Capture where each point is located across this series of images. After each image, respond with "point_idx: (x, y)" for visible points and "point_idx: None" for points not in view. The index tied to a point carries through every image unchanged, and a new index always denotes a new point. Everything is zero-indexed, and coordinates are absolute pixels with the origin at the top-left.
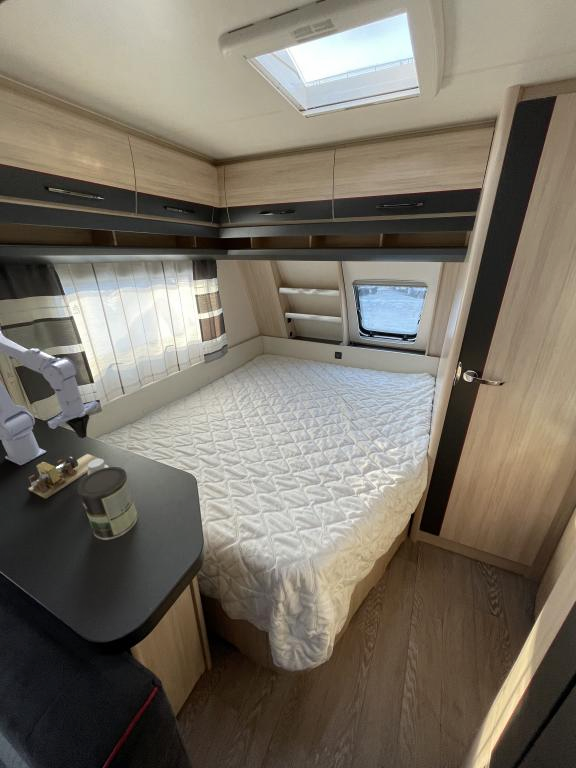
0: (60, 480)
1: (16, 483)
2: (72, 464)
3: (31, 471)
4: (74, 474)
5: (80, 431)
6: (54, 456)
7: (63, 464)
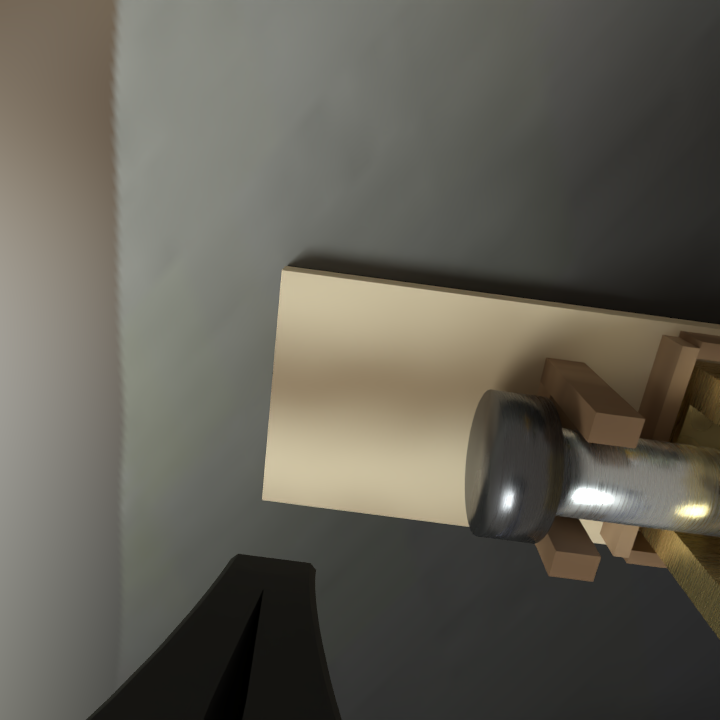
0: (707, 373)
1: (693, 694)
2: (554, 412)
3: (557, 714)
4: (553, 354)
5: (315, 693)
6: (365, 714)
7: (615, 481)
